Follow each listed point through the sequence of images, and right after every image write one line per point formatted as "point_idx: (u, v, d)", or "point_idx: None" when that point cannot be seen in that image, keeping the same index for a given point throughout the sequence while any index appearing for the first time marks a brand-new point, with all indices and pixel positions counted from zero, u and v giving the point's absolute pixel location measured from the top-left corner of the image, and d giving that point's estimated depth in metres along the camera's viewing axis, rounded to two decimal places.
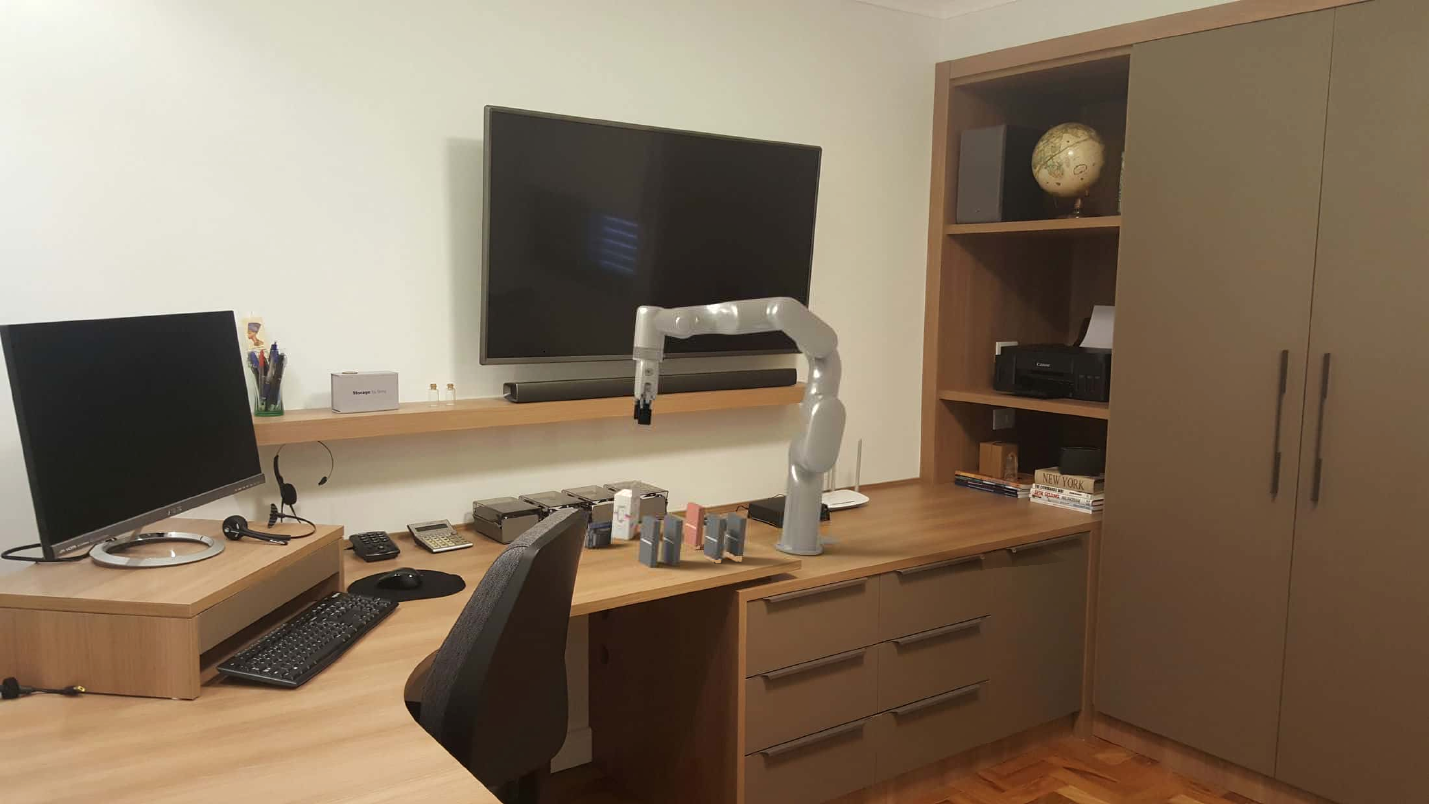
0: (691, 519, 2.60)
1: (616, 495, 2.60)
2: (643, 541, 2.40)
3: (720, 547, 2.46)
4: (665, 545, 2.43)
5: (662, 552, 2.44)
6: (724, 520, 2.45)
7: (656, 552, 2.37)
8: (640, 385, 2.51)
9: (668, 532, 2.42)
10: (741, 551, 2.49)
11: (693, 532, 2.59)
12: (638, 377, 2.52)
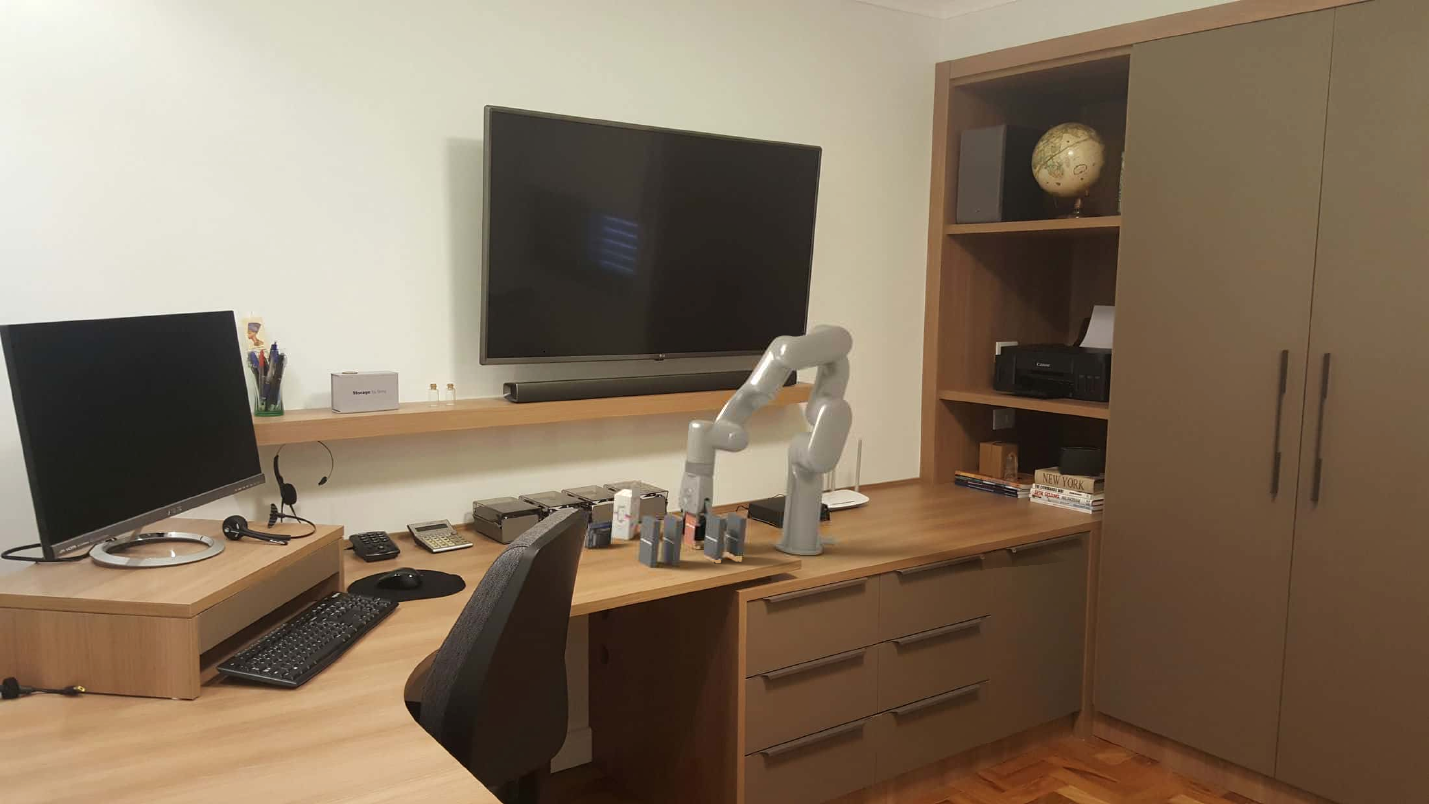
0: (690, 519, 2.60)
1: (616, 495, 2.60)
2: (643, 541, 2.40)
3: (720, 547, 2.46)
4: (665, 545, 2.43)
5: (662, 552, 2.44)
6: (724, 520, 2.45)
7: (656, 552, 2.37)
8: None
9: (668, 532, 2.42)
10: (741, 551, 2.49)
11: (692, 532, 2.59)
12: None
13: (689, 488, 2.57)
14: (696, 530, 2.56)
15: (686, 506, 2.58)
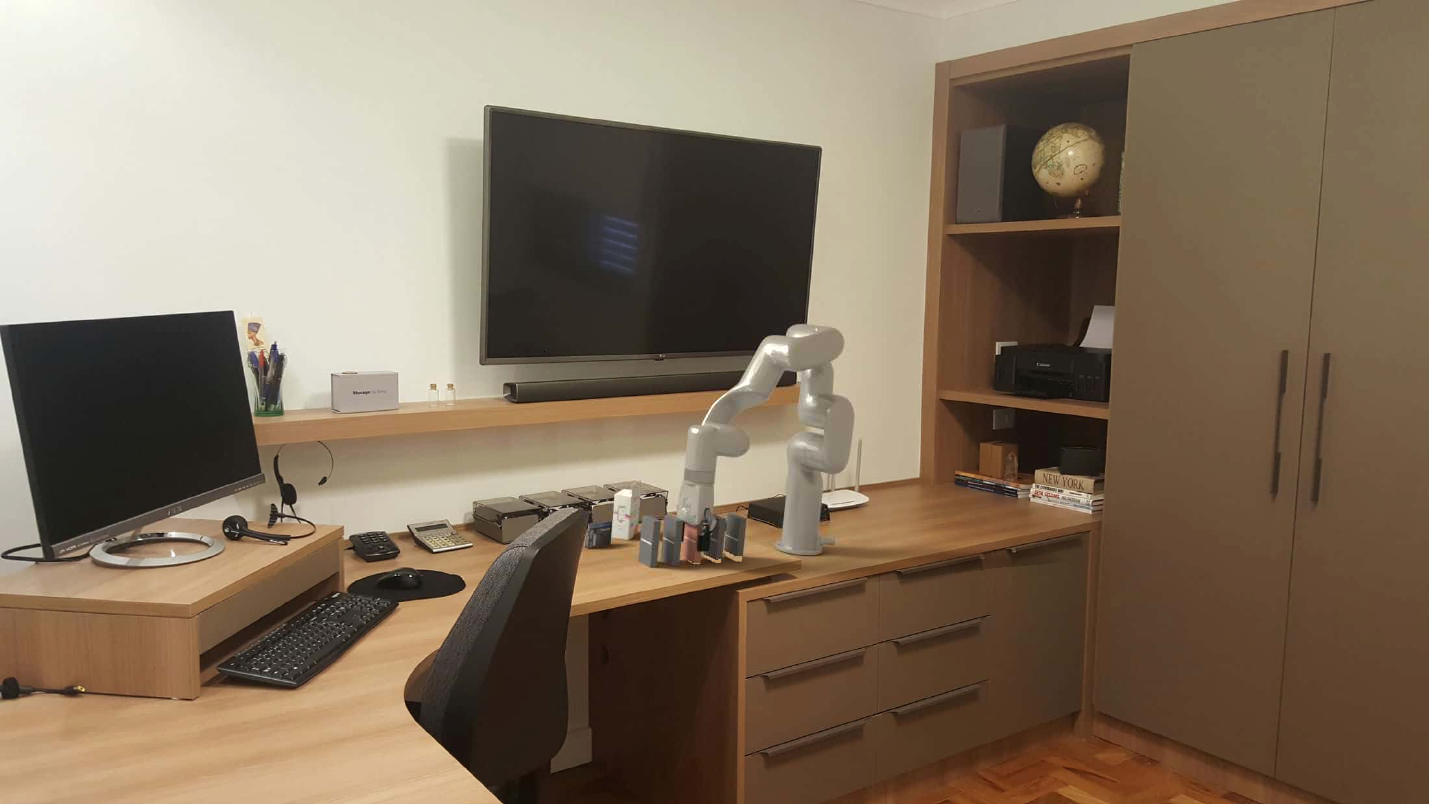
0: (689, 532, 2.45)
1: (616, 495, 2.60)
2: (643, 541, 2.40)
3: (720, 547, 2.46)
4: (665, 545, 2.43)
5: (662, 552, 2.44)
6: (724, 520, 2.45)
7: (656, 552, 2.37)
8: None
9: (668, 532, 2.42)
10: (741, 551, 2.49)
11: (692, 546, 2.44)
12: None
13: (688, 497, 2.42)
14: (699, 540, 2.40)
15: (685, 516, 2.43)
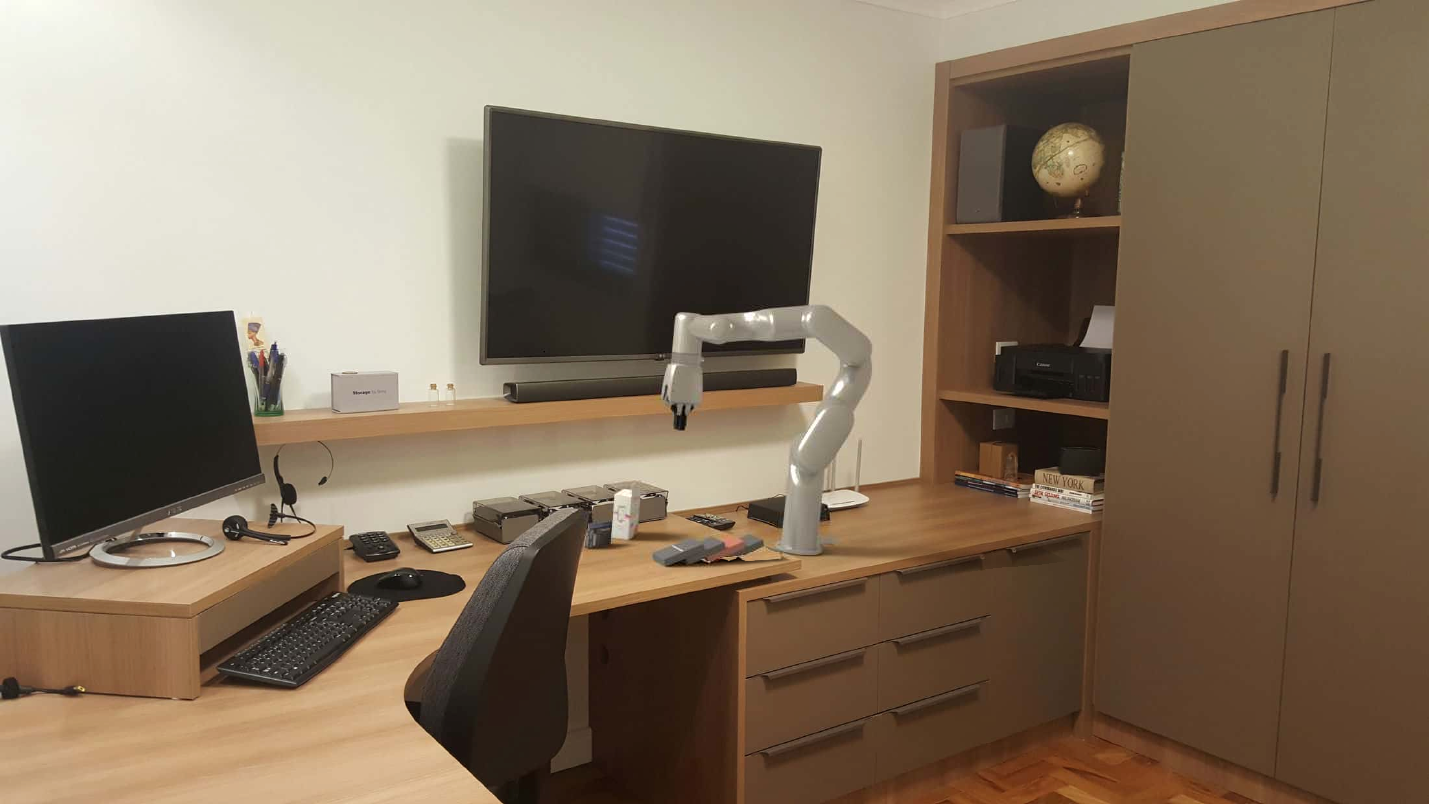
0: None
1: (616, 495, 2.60)
2: (673, 547, 2.44)
3: (741, 553, 2.50)
4: None
5: None
6: (763, 545, 2.53)
7: (678, 559, 2.40)
8: None
9: (704, 544, 2.48)
10: None
11: None
12: (698, 383, 2.63)
13: None
14: None
15: None
